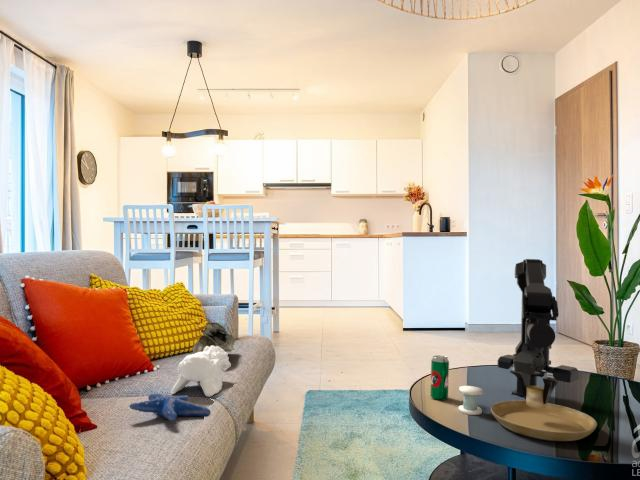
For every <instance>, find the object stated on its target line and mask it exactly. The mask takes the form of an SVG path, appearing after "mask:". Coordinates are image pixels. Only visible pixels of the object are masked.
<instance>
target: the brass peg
mask: <svg viewBox="0 0 640 480" xmlns="http://www.w3.org/2000/svg"><path fill="white" fill-rule="evenodd" d="M543 394H544V386H542V387H541V386H539V385H537V386H527V391H526V399H525V401H526V405H527V406H530V407H533V408H545V404H543Z"/></svg>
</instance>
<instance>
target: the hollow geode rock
mask: <svg viewBox="0 0 640 480" xmlns="http://www.w3.org/2000/svg"><path fill="white" fill-rule="evenodd" d="M200 333H201V334H203V335H202V336H200V337H199V339H198V341H197V342H196V343H194V345H193V347H192V354H195V353H198V352H203V351H204V350H203V349H204V348H205V347H206V346H208V347H210V346H215V347H216V346H219V347H220V348H222V349H223V350H224V351H225V352H227V353H228V352H230V353H231V352H232V351H234V350H235V347H234V345H235V342H236V341H237V339H236V338H235V337H234V336H233V335H232V334H231V335H230V334H229V333H228V332H227V330H226V328H225V327H224V326H222V325H220V324H219V322H209V321H208V322H206V323H205V328H204V329H201V330H200Z"/></svg>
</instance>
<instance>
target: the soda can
mask: <svg viewBox="0 0 640 480" xmlns="http://www.w3.org/2000/svg"><path fill="white" fill-rule="evenodd" d="M449 360H450V359H449V357H448V356H445V355H440V354H439V355H433V356H432V358H431V360H430V363H431V364H430V393H429V394H430V395H429V396H430V397H431V398H432V400H435V401H446V400H447V399H448V398H449V381H450V379H449V377H450V361H449Z"/></svg>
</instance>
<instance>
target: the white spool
mask: <svg viewBox="0 0 640 480" xmlns="http://www.w3.org/2000/svg"><path fill="white" fill-rule="evenodd" d="M458 392H459V393H461V394H463V403H462V404H461V405H458V412H460V413H461V414H464V415H469V416H480V415H481V414H482V413H483V412H482V411H483V409H482V408H481V407H480V406H478V397H479V396H481V395H483V389H482V388H481V387H477V386H473V385H462V386H459V388H458Z"/></svg>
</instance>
